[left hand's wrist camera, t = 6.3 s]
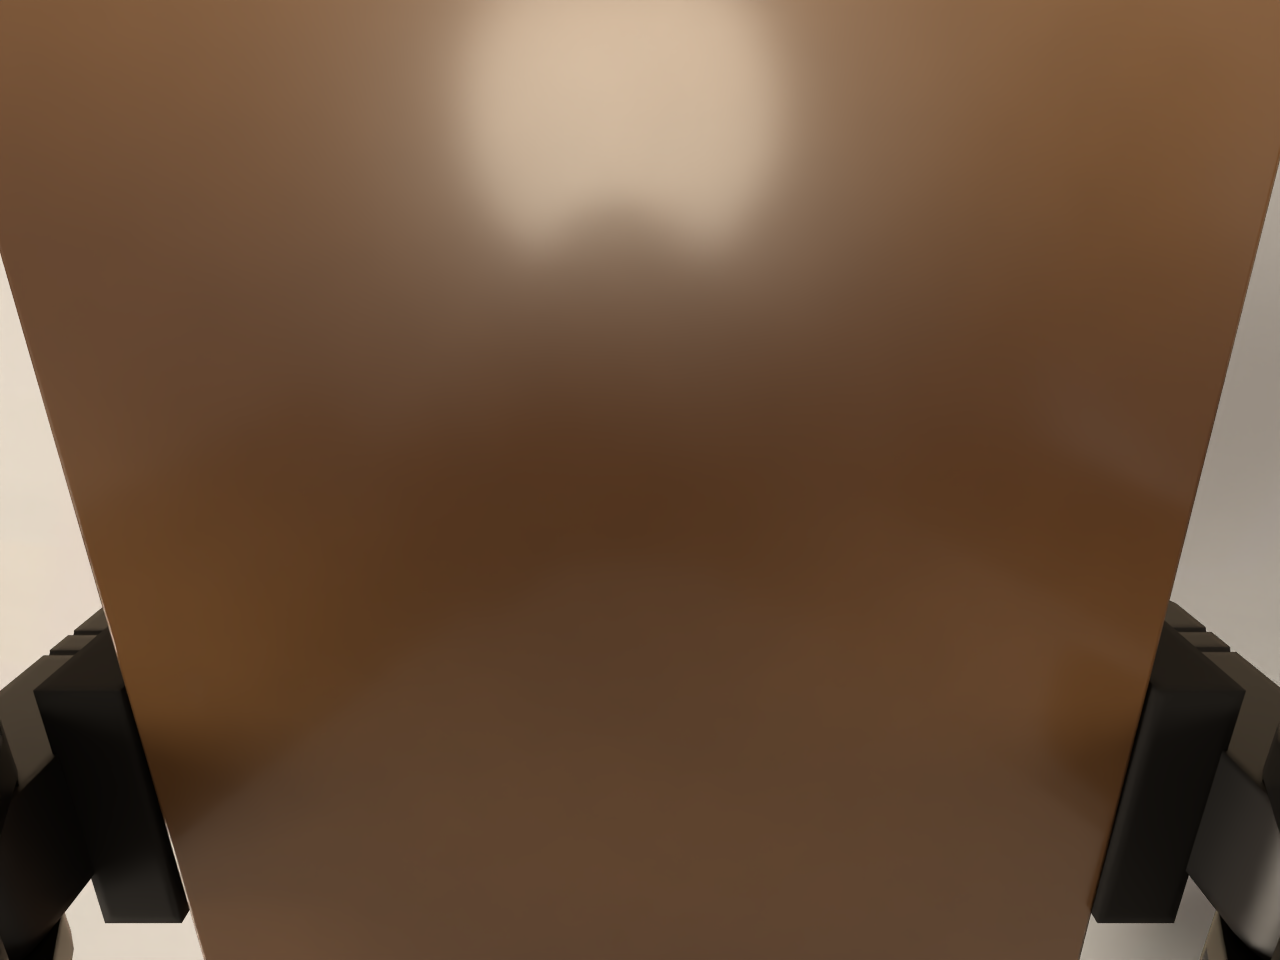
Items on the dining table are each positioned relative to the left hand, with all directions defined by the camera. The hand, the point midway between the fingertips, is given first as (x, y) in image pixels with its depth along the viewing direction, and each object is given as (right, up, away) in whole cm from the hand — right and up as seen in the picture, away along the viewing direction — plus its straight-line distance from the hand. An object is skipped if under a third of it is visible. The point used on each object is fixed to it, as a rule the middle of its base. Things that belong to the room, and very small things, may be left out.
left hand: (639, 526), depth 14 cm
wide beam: (0, +20, -7) cm, 22 cm away
